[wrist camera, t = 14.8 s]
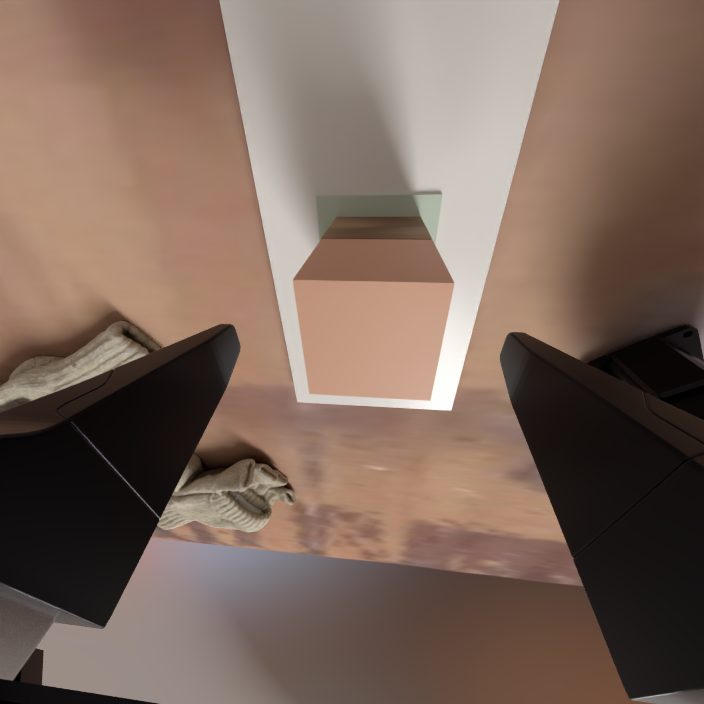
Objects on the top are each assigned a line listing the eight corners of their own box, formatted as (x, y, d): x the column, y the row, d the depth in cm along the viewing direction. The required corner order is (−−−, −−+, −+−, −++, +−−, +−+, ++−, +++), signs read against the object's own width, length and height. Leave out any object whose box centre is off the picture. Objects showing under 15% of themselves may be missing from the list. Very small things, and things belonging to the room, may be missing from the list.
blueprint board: (448, 400, 24) (451, 412, 23) (300, 392, 25) (296, 403, 24) (577, -121, 10) (603, -157, 8) (215, -81, 11) (195, -109, 10)
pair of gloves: (-26, 382, 30) (-94, 420, 26) (141, 307, 22) (83, 345, 18) (174, 515, 45) (152, 553, 41) (313, 498, 38) (304, 543, 33)
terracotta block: (432, 239, 11) (454, 282, 8) (418, 334, 14) (430, 400, 10) (321, 238, 12) (292, 279, 8) (328, 331, 14) (309, 394, 11)
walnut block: (420, 216, 15) (432, 238, 11) (411, 295, 18) (418, 334, 14) (336, 216, 15) (320, 238, 12) (340, 294, 18) (328, 331, 14)
